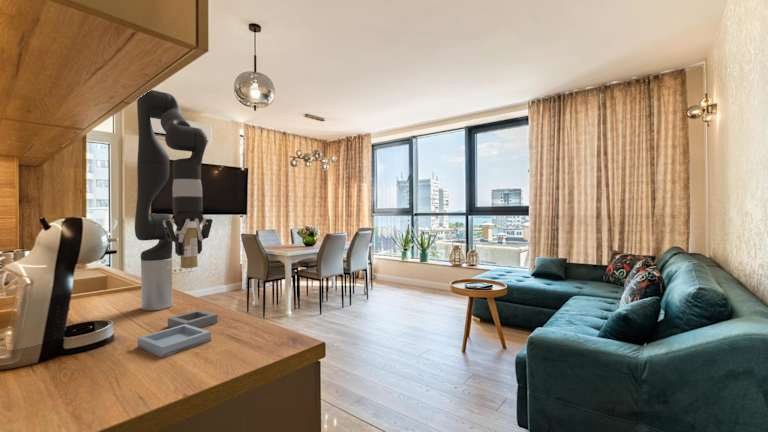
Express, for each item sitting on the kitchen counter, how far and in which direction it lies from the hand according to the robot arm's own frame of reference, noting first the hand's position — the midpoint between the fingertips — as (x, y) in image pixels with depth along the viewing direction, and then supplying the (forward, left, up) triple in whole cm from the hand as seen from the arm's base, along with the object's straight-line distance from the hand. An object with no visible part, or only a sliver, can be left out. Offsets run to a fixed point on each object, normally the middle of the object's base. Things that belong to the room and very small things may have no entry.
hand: (188, 254), depth 100 cm
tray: (+8, -8, -22) cm, 25 cm away
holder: (-3, +3, -22) cm, 22 cm away
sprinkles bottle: (0, 0, -4) cm, 4 cm away
